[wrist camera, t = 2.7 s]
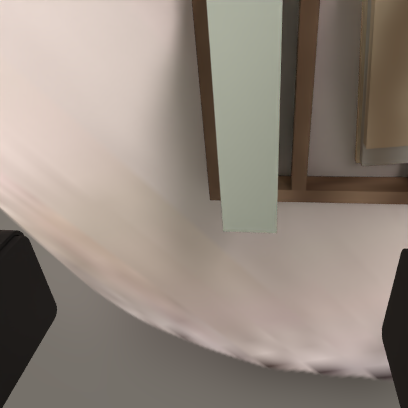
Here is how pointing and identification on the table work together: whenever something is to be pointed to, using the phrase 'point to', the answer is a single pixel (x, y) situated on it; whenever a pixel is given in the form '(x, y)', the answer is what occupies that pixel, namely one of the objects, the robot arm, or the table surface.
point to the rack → (298, 181)
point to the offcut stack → (383, 84)
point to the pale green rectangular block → (247, 109)
